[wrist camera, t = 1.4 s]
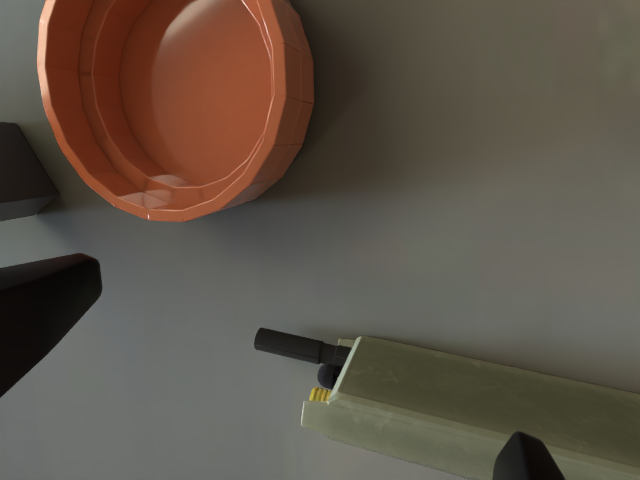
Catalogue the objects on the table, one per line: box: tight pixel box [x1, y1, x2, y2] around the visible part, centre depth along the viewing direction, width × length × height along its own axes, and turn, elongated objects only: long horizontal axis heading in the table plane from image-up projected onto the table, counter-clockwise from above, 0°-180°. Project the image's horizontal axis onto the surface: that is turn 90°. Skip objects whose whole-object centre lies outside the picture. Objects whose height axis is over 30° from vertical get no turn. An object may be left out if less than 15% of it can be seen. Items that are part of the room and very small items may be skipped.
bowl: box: [37, 0, 314, 222], centre depth 21 cm, size 13×13×4 cm
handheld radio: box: [254, 328, 640, 480], centre depth 19 cm, size 7×3×25 cm
